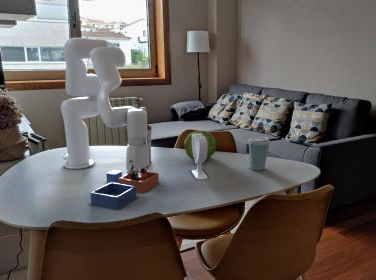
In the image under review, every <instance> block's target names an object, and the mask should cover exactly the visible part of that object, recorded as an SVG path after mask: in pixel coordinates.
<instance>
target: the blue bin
mask: <svg viewBox="0 0 376 280" xmlns="http://www.w3.org/2000/svg"><path fill="white" fill-rule="evenodd" d="M136 199H137V192H136V186H130V185H124V184H119V183H112V182H110V183H107V184H105V185H103V186H101V187H99V188H97V189H94V190H92V191H91V192H90V204H91V205H92V206H97V207H103V208H108V209H113V210H116V211H117V210H120V209H121V208H123V207H124V206H126V205H128V204H129V203H130V202H132V201H134V200H136Z"/></svg>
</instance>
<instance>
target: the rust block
mask: <svg viewBox="0 0 376 280" xmlns="http://www.w3.org/2000/svg"><path fill="white" fill-rule="evenodd" d="M138 178H139V179H140V181H145V180H147V174H144V173H139V176H138Z"/></svg>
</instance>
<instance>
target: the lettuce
mask: <svg viewBox="0 0 376 280" xmlns="http://www.w3.org/2000/svg"><path fill="white" fill-rule="evenodd" d="M199 133H201V134H202V135H203V136H205V137H206V140H207V143H208V151H207V158H206V160H207V159H210V158H212V156H213V155H214V154H215V152H216V149H217V148H216V147H217V145H216V140H215V137H214V136H213V135H212V134H211V132H209V131H206V130H195V131H193V132H191V133H189V134H188V135H187V136H186V138H185V140H184V150H185V153H186V155H187V156H188V158H190V159H192V160H194V156H193V150H192V134H199Z"/></svg>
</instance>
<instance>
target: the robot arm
mask: <svg viewBox="0 0 376 280" xmlns="http://www.w3.org/2000/svg"><path fill="white" fill-rule="evenodd" d="M63 56H64V60H65V92H66V94H67V95H69V96H71V97H72V98H66V99H65V100H63V101H62V102H61V104H60V112H61V116H62V119H63V123H64V132H65V143H66V151H67V153H66V154H64V155H63V156H62V158H61V159H62V160H64V161H66V162H65V163H64V167H65V168H66V169H68V170H81V169H86V168H90V167H92V166H93V165H94V164H95V163H94V160H92V159H91V157H90V141H89V131H88V126H87V124H86V123H85V121H84V120H83V119H87V118H93V117H97V116H99V115H100V118H101V120H102V122H103V123H104V125H105V126H106V127H108V128H110V129H115V128H121V127H126V128H127V129H126V130H127V148H126V153H125V155H126V156H125V163H126V164H125V168H126V170H127V171H126V174H129V175H130V176H131V178H132V180H136V181H140V179H139V178H138V176H139V171H140V172H141V173H144V174H146V173H147V172H149V171H148V170H149V167H150V166H149V164H150V162H149V161H150V158H149V148H148V134H147V124H148V113H147V110H146V111H145V110H143V109H140V108H136V107H134V106H129V105H128V106H120V107H112V104H111V103H110V98H109V97H110V94H111V93H110V92H112V91H113V90H115V89H117V88H119V87H120V86H121V85H122V82H123V81H122V80H123V79H122V77H121V74H120V73H119V70H118V69H119V68H120V69H121V68H123V67H124V66H125V65H126V62H127V59H126V58H127V57H126V54H125V52H124V51H123V50H122V48H120V47H119V46H117V45H116V44H114V43H112V42H110V41H108V40H106V39H103V38H89V37H71V38H68V39H67V40H66V41H65V42H64V45H63ZM86 60H90V62H91V65H92V67H93V70H94V72H95V74H93V73H88V64H87V62H86ZM134 172H136V174H135V173H134Z"/></svg>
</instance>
